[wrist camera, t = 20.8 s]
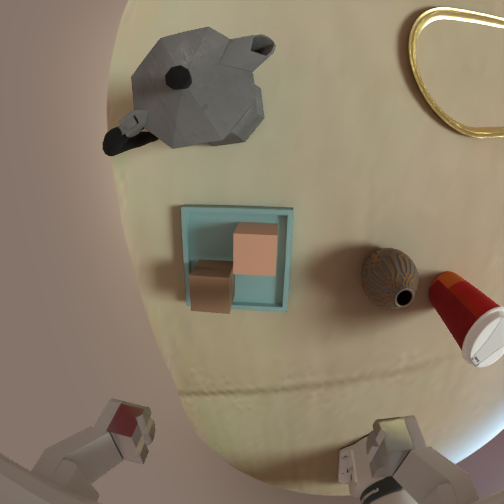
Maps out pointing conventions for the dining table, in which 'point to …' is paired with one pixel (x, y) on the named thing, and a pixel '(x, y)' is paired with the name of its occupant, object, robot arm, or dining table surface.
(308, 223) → the dining table surface
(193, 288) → the walnut block
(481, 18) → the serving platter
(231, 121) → the coffeepot
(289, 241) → the tray
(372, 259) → the vase
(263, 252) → the terracotta block
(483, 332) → the paper cup
